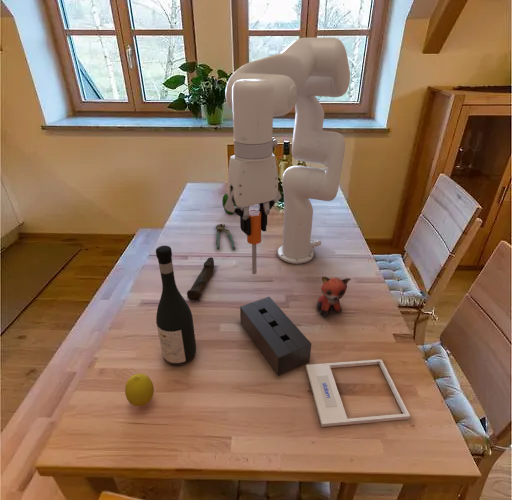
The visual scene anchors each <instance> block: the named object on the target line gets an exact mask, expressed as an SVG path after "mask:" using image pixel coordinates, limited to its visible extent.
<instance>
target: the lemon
mask: <svg viewBox="0 0 512 500" xmlns="http://www.w3.org/2000/svg"><path fill="white" fill-rule="evenodd" d="M124 387H125V388H124V391H125V393H124V394H125V398H126V400H127V401H128V403H129V404H130V405H132V406H134V407H144V406H145V405H147V404H148V403H150V402H151V400H152V398H153V396H154V392H155V387H154V383H153V381H152V379H151V378H150V377H149V376H148V375H147V374H145V373H135V374H133V375H132V376H130V377H129V378H128V380H127V381H126V384H125V386H124Z"/></svg>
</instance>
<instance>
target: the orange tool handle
mask: <svg viewBox="0 0 512 500" xmlns="http://www.w3.org/2000/svg"><path fill="white" fill-rule="evenodd" d="M258 210H259V209H258ZM258 210H257V209H251V210H250V209H249V216H248V218H249V219H250V220H251V235H250V236H247V235H246V242H247V243H248V244H250V245H251V271H252V275H256V274H257V245H258V244H260V243H261V242H262V230H261V212H260V211H258Z"/></svg>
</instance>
